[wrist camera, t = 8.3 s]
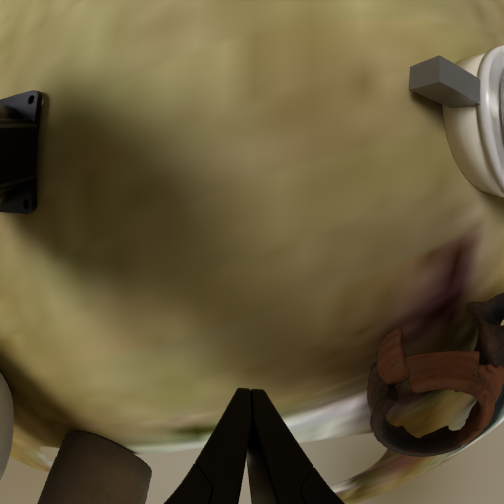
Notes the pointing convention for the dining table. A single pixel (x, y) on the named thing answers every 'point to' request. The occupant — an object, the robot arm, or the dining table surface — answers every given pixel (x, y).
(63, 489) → the pillar candle
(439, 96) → the press
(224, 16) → the dining table surface
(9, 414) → the pitcher
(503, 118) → the plunger
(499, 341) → the pottery mug
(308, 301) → the dining table surface
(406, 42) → the dining table surface
